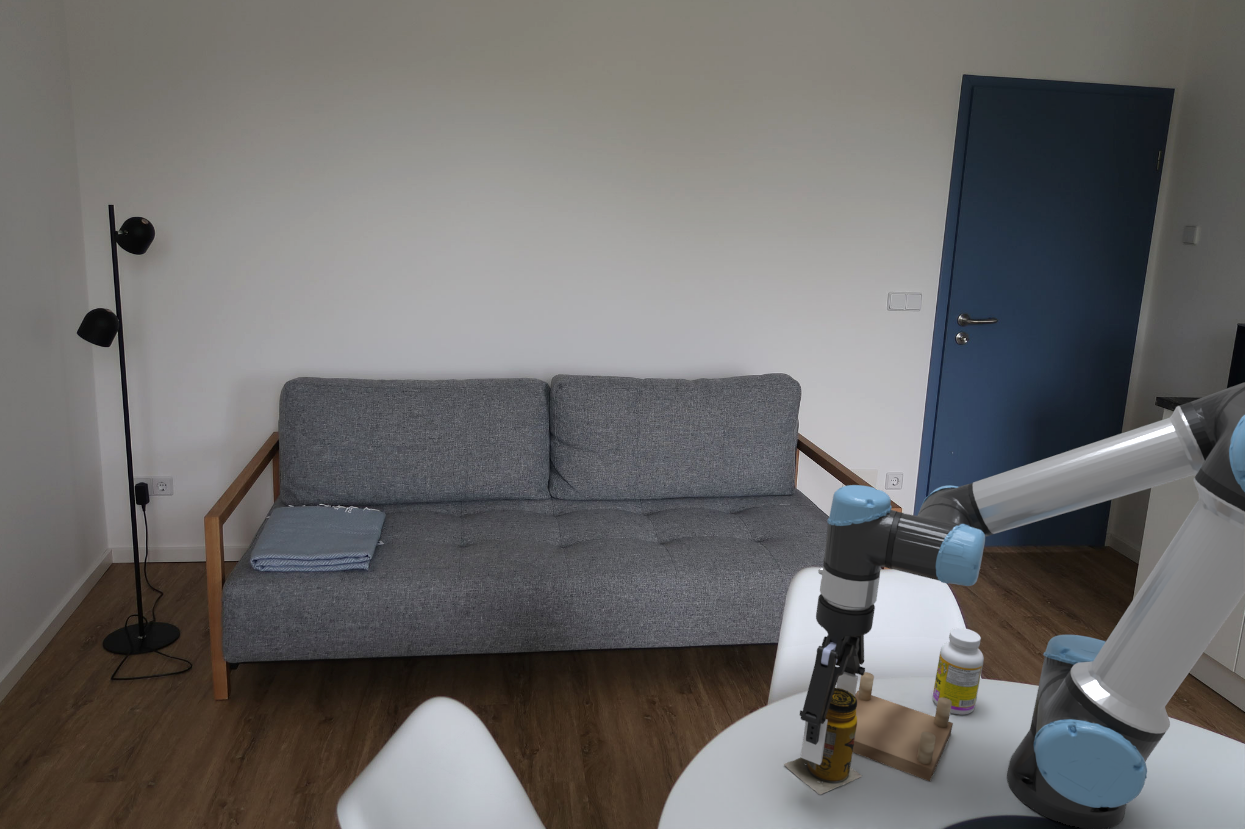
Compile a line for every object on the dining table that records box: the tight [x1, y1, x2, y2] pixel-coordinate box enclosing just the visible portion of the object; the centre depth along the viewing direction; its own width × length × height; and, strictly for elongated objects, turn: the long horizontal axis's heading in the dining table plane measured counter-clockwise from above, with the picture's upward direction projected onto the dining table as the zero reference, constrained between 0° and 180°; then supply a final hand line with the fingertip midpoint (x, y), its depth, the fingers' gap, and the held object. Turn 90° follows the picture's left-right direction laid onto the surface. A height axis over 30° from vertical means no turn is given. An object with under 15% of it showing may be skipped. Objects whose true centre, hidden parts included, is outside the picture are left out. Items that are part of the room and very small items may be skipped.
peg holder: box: [852, 671, 954, 782], centre depth 135 cm, size 15×14×6 cm
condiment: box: [783, 687, 863, 795], centre depth 126 cm, size 7×8×12 cm
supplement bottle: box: [932, 627, 985, 715], centre depth 145 cm, size 7×7×13 cm
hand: (827, 735), depth 126 cm, fingers open, 13 cm apart
